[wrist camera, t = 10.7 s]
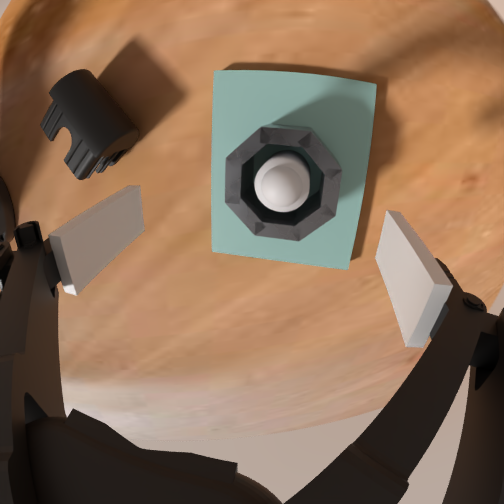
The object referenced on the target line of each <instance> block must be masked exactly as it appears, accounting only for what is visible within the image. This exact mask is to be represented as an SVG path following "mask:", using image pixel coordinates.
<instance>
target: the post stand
mask: <svg viewBox="0 0 504 504" xmlns="http://www.w3.org/2000/svg"><path fill="white" fill-rule="evenodd" d="M376 85H377V84H374V83H369V82H364V81H358V80H353V79H346V78H340V77H333V76H326V75H317V74H308V73H297V72H283V71H263V70H217V71H214V83H213V112H212V163H211V217H212V252H219V253H226V254H233V255H241V256H248V257H255V258H262V259H270V260H277V261H284V262H291V263H299V264H306V265H314V266H321V267H328V268H336V269H343V270H348V267H349V263H350V258H351V254H352V250H353V245H354V240H355V236H356V231H357V226H358V221H359V216H360V210H361V205H362V199H363V193H364V187H365V181H366V175H367V168H368V161H369V154H370V147H371V139H372V130H373V121H374V110H375V99H376ZM268 124H280V125H291V126H301V127H310V128H312V129H313V130H314V131H315V133H316V134H317V135H318V136H319V137H320V139H321V140H322V141H323V142H324V144H325V145H326V146H327V147H328V148H329V150H330V151H331V152H332V153H333V155H334V156H335V157H336V159H337V160H338V162H339V164H340V166H341V168H342V177H341V184H340V191H339V198H338V205H337V211H336V216H335V217H334V218H332V219H331V220H329V221H328V222H326V223H325V224H324V225H322V226H321V227H319V228H318V229H316V230H315V231H314V232H312V233H311V234H309V235H308V236H306V237H305V238H303V239H302V240H301V241H292V240H284V239H277V238H269V237H261V236H255V235H254V234H253V233H252V232H251V231H250V230H249V229H248V228H247V227H246V225H245V224H244V223H243V222H242V221H241V220H240V219H239V218H238V217H237V216H236V214H235V213H234V212H233V211H232V210H231V209H230V208H229V207H228V206H227V205H226V203H225V162H226V157H227V156H228V155H229V154H231V153H232V152H233V151H234V150H235V149H236V148H237V147H238V146H239V145H240V144H242V143H243V142H244V141H245V140H246V139H247V138H248V137H250V136H251V135H252V134H253V133H254V132H255V131H256V130H258V129H259V128H260V127H261V126H265V125H268ZM321 173H322V170H321V169H320V168H319V167H318V165H317V164H316V163H315V162H314V161H313V159H312V158H311V157H310V156H309V154H308V153H307V152H306V151H305V150H304V149H303V147H295V146H286V145H275V144H267V145H266V146H265V147H264V148H262V149H261V150H260V151H259V152H258V153H256V154H255V155H254V174H253V182H254V183H255V191H256V194H257V197H258V198H259V200H260V201H261V202H262V203H263V204H264V205H265V206H266V207H268V208H269V209H271V210H274V211H278V212H288V211H292V210H295V209H297V208H298V207H300V206H301V205H302V204H303V203H304V202H305V200H306V199H307V198H309V197H310V196H311V195H313V194H314V193H316V192H317V191H318V190H319V189H320V181H321Z"/></svg>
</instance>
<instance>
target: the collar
mask: <svg viewBox="0 0 504 504" xmlns="http://www.w3.org/2000/svg"><path fill="white" fill-rule="evenodd" d="M267 144H275V145H286V146H295V147H303V149H304V150H305V151H306V152H307V153H308V154H309V156H310V157H311V158H312V159H313V161H314V162H315V163H316V164H317V165H318V167H319V168H320V169H321V170H322V173H321V181H320V189H319V190H318V191H317V192H316V193H314V194H313V195H311V196H310V197H309V198H307V199H306V200H305V202H304V203H303V204H302V205H301V206H300V207H298V208H297V209H295V210H292V211H288V212H278V211H274V210H271V209H269V208H268V207H266V206H265V205H264V204H263V203H262V202H261V201H260V200H259V198H258V197H257V194H256V191H255V183H254V182H253V174H254V155H255V154H256V153H258V152H259V151H260V150H261V149H262V148H264V147H265V146H266V145H267ZM341 177H342V168H341V166H340V164H339V162H338V160H337V159H336V157H335V156H334V155H333V153H332V152H331V151H330V150H329V148H328V147H327V146H326V145H325V144H324V142H323V141H322V140H321V139H320V137H319V136H318V135H317V134H316V133H315V131H314V130H313V129H312V128H310V127H301V126H291V125H280V124H268V125H265V126H261V127H260V128H259V129H258V130H256V131H255V132H254V133H253V134H252V135H251V136H250V137H248V138H247V139H246V140H245V141H244V142H243V143H242V144H240V145H239V146H238V147H237V148H236V149H235V150H234V151H233V152H232V153H231V154H229V155H228V156H227V157H226V162H225V203H226V205H227V206H228V207H229V208H230V209H231V210H232V211H233V212H234V213H235V214H236V216H237V217H238V218H239V219H240V220H241V221H242V222H243V223H244V224H245V225H246V227H247V228H248V229H249V230H250V231H251V232H252V233H253V234H254V235H255V236H261V237H269V238H277V239H284V240H292V241H301V240H302V239H303V238H305V237H306V236H308V235H309V234H311V233H312V232H314V231H315V230H316V229H318V228H319V227H321V226H322V225H324V224H325V223H326V222H328V221H329V220H331V219H332V218H334V217H335V216H336V211H337V205H338V198H339V191H340V184H341Z"/></svg>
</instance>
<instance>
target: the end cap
mask: <svg viewBox="0 0 504 504" xmlns="http://www.w3.org/2000/svg"><path fill="white" fill-rule="evenodd" d="M49 94H50V96H51V97H52V99H53V102H52V104H51V106H50V107H49V109H48V111H47V113H46V115H45V116H44V118H43V120H42V122H41V124H40V126H41V128H42V129H43V131H44V132H45V134H46V135H47V137H48V138H49V140H50V141H54V139H55V137H56V135H57V134H58V132H59V130H60V129H61V128H62V127H66V128H67V129H68V130H69V131H70V133H71V137H72V145H71V148H70V150H69V152H68V154H67V155H66V157H65V159H64V162H65V163H66V164H67V166H68V167H69V168H70V170H71V171H72V173H73V174H74V175H75V177H76V178H77V179H79V180H84V179H86V178H90V176H91V175H92V174H93V172H94V171H95V169H96V168H97V167H98V165H99V164H100V165H99V167H98V168H97V169H96V172H97V173H102V172H103V171H104V170H105V169H106V168H107V166H108V165H109V166H113V165H115V164H116V163H117V162H118V160H119V159H120V158H121V157H122V155H123V154H124V153H125V152H126V151H127V149H128V148H131V147H132V146H133V145H134V143H135V142H136V140H137V139H138V136H139V130H138V129H137V128H136V127H135V125H134V124H133V123H132V122H131V121H130V119H129V118H128V117H127V116H126V114H125V113H124V112H123V111H122V110H121V108H120V107H119V106H118V105H117V104H116V102H115V101H114V100H113V99H112V97H111V96H110V95H109V94H108V93H107V91H106V90H105V89H104V88H103V86H102V85H101V84H100V83H99V82H98V80H97V79H96V78H95V77H94V75H93V74H92V73H91V72H90V71H89V70H85V69H80V70H76V71H73V72H71V73H69V74H67V75H66V76H64V77H63V78H61V79H60V80H59V81H58V82H57V83H56V84H55V85H54V86H53V88H52V89H51V90H50V92H49Z"/></svg>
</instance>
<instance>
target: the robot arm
mask: <svg viewBox="0 0 504 504" xmlns="http://www.w3.org/2000/svg"><path fill="white" fill-rule="evenodd" d="M144 231H145V229H144V220H143V211H142V201H141V189H140V186H133V185H129V186H127V187H125V188H123V189H122V190H120V191H118V192H116V193H115V194H113V195H111V196H109V197H108V198H106V199H104V200H102V201H101V202H99V203H97V204H96V205H94V206H92V207H91V208H89V209H87V210H86V211H84V212H83V213H81V214H79V215H78V216H76V217H75V218H73V219H72V220H70V221H68V222H67V223H65V224H64V225H62V226H61V227H59V228H58V229H56V230H55V231H53V232H52V233H50V234H49V235H48V236H49V238H48V239H46V240H45V241H44V242H43V239H42V235H41V230H40V226H39V222H38V221H29V222H26V223H23V224H21V225H19V226H17V227H16V228H15V218H14V211H13V207H12V203H11V199H10V196H9V193H8V190H7V188H6V186H5V184H4V182H3V180H2V178H1V177H0V288H1V292H0V504H282V503H281V501H280V500H279V499H278V498H277V497H276V496H275V495H274V494H273V493H271V492H270V491H269V490H268V489H267V488H265V487H264V486H262V485H261V484H259V483H257V482H256V481H254V480H252V479H250V478H249V477H247V476H244V475H242V474H240V473H237V463H235V462H229V461H224V460H219V459H214V458H210V457H206V456H202V455H197V454H194V453H186V452H169V451H157V450H146V449H142V448H139V447H137V446H135V445H134V444H133V443H131V442H130V441H128V440H127V439H126V438H124V437H123V436H121V435H120V434H119V433H117V432H116V431H115V430H113V429H112V428H111V427H109V426H108V425H107V424H105V423H103V422H101V421H99V420H96V419H94V418H92V417H90V416H88V415H86V414H83V413H81V412H79V411H77V410H75V409H72V411H71V413H70V414H69V416H68V417H66V414H65V410H64V403H63V395H62V386H61V376H60V363H59V344H58V297H59V292H58V289H57V286H56V285H57V284H58V283H59V282H60V281H61V282H62V285H63V288H64V291H65V292H67V293H70V294H74V295H78V294H79V293H80V292H81V291H82V290H83V289H84V288H85V287H86V286H87V285H88V284H89V283H90V282H91V281H92V280H93V279H94V278H95V277H96V276H97V275H98V274H99V273H100V272H101V271H102V270H103V269H104V268H105V267H106V266H107V265H108V264H109V263H110V262H111V261H112V260H113V259H114V258H115V257H116V256H117V255H119V254H120V253H121V252H122V251H123V250H124V249H125V248H126V247H127V246H128V245H129V244H130V243H132V242H133V241H134V240H135V239H136V238H137V237H138V236H139V235H140V234H142V233H143V232H144ZM14 236H15V240H16V243H17V247H18V249H17V251H12V249H11V246H10V243H9V242H11V241H12V239H13V237H14ZM375 259H376V261H377V264H378V266H379V269H380V272H381V274H382V277H383V280H384V282H385V285H386V288H387V291H388V293H389V296H390V299H391V302H392V305H393V308H394V311H395V314H396V317H397V320H398V323H399V326H400V330H401V333H402V336H403V339H404V343H405V346H406V347H424V345H425V343H426V341H427V339H428V337H429V336H430V337H431V339H432V341H431V342H430V344H429V346H428V347H427V349H426V350H425V352H424V353H423V355H422V356H421V358H420V359H419V361H418V362H417V364H416V365H415V367H414V368H413V370H412V371H411V373H410V374H409V375H408V377H407V378H406V380H405V381H404V382H403V384H402V385H401V387H400V388H399V389H398V391H397V392H396V393H395V394H394V396H393V397H392V398H391V400H390V401H389V402H388V403H387V405H386V406H385V407H384V408H383V410H382V411H381V412H380V413H379V415H378V416H377V417H376V418H375V419H374V420H373V422H372V423H371V424H370V425H369V426H368V427H367V428H366V430H365V431H364V432H363V433H362V434H361V435H360V436H359V437H358V438H357V439H356V441H354V442H353V443H352V444H350V445H349V446H348V447H347V448H346V449H345V450H344V451H343V452H342V453H341V454H340V455H339V456H338V457H337V458H336V459H335V460H334V461H333V462H332V463H331V464H330V465H328V467H326V468H325V469H324V470H323V471H322V472H321V473H320V474H319V475H318V476H316V477H315V478H314V479H313V480H312V481H311V482H310V483H308V485H306V486H305V487H304V488H303V489H301V490H300V491H299V492H298V493H297V494H295V495H294V496H293V497H292V498H290V499H289V500H288V501H286V502H285V503H284V504H397V503H398V502H399V501H400V500H401V498H402V497H403V495H404V493H405V492H406V491H407V489H408V486H409V483H408V482H407V480H408V478H409V476H410V475H411V473H412V472H413V470H414V469H415V467H416V466H417V464H418V463H419V461H420V460H421V458H422V457H423V455H424V453H425V452H426V450H427V449H428V447H429V445H430V444H431V442H432V440H433V439H434V437H435V435H436V433H437V432H438V430H439V428H440V426H441V424H442V422H443V420H444V418H445V417H446V415H447V413H448V411H449V409H450V407H451V405H452V403H453V401H454V398H455V396H456V394H457V392H458V390H459V388H460V385H461V383H462V381H463V378H464V376H465V374H466V371H467V369H468V366H469V365H470V379H469V389H468V397H467V405H466V412H465V418H464V424H463V429H462V434H461V439H460V444H459V449H458V452H457V457H456V461H455V464H454V468H453V472H452V475H451V479H450V482H449V485H448V488H447V491H446V494H445V497H444V500H443V503H442V504H504V308H503V309H502V311H501V313H500V315H499V316H496V315H493V314H490V313H487V309H486V306H485V304H484V303H483V302H482V300H481V299H479V298H478V297H476V296H475V295H473V294H470V293H466V292H463V290H462V289H461V287H460V286H459V284H458V283H457V281H456V280H455V279H454V277H453V275H452V274H451V273H450V271H449V269H448V268H447V266H446V265H445V264H444V263H442V262H441V261H440V260H439V259H438V258H434V257H433V255H432V254H431V252H430V251H429V250H428V248H427V247H426V245H425V244H424V243H423V241H422V240H421V239H420V237H419V236H418V235H417V233H416V232H415V231H414V229H413V228H412V227H411V225H410V224H409V223H408V222H407V220H406V219H405V218H404V216H403V215H402V214H401V213H400V212H396V211H390V210H387V211H386V215H385V220H384V224H383V229H382V233H381V237H380V241H379V245H378V249H377V253H376V257H375Z"/></svg>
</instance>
